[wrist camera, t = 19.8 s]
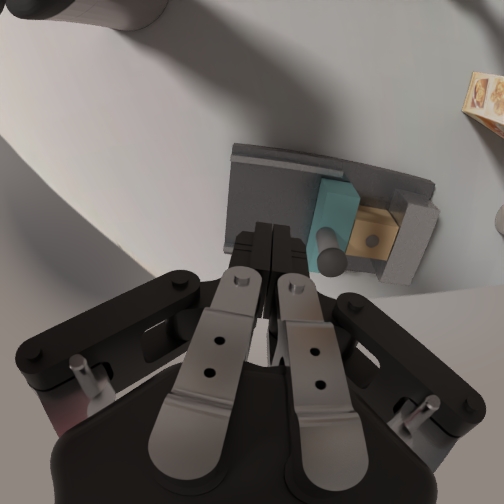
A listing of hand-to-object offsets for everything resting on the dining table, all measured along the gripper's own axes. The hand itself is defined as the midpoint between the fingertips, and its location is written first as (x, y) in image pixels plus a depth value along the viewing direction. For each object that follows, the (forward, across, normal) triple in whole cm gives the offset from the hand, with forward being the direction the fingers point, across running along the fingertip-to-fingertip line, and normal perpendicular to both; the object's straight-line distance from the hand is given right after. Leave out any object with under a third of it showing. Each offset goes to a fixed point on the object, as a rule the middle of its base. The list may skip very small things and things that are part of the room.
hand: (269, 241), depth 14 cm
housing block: (+26, -14, +10) cm, 31 cm away
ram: (+25, -8, +10) cm, 28 cm away
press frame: (+27, -9, +10) cm, 30 cm away
